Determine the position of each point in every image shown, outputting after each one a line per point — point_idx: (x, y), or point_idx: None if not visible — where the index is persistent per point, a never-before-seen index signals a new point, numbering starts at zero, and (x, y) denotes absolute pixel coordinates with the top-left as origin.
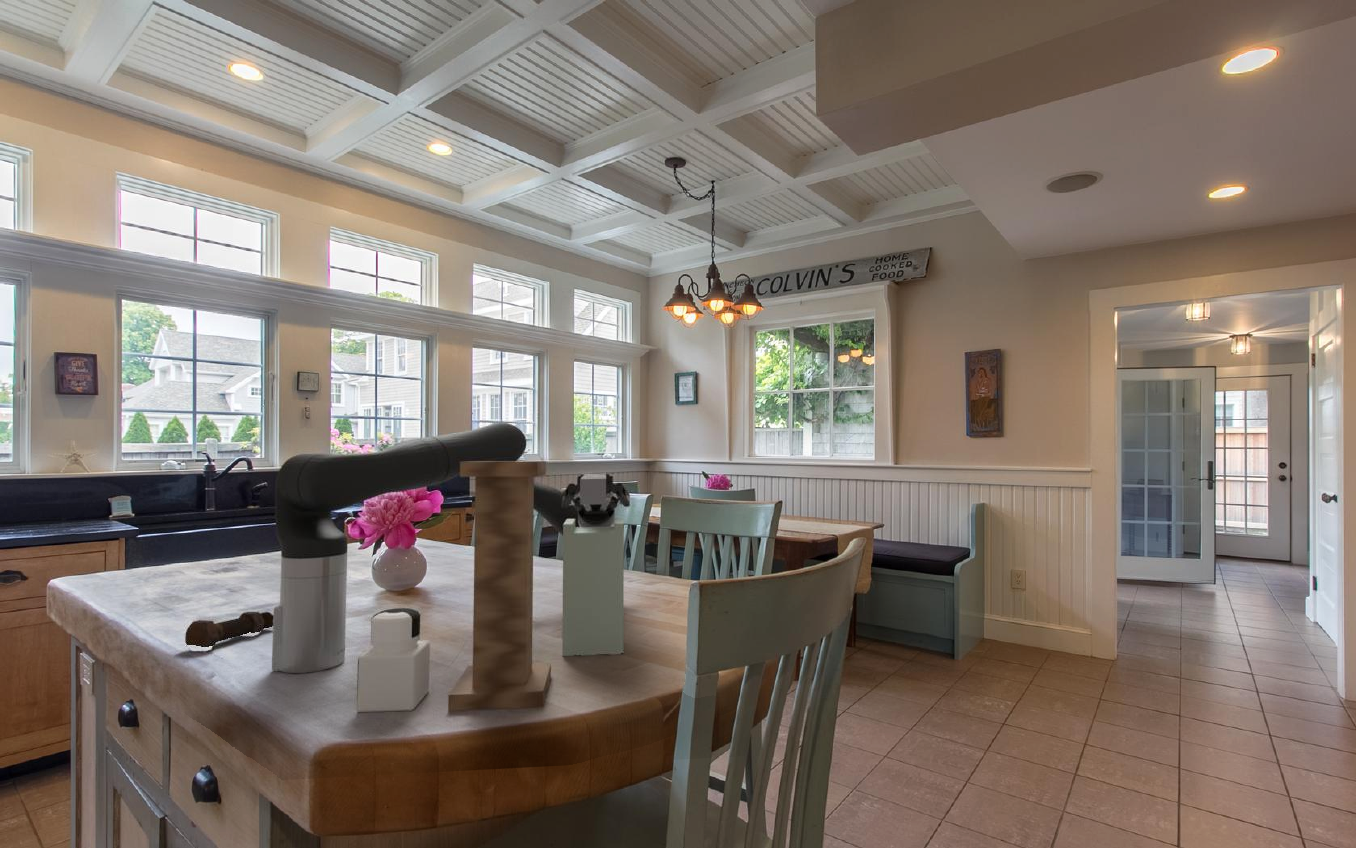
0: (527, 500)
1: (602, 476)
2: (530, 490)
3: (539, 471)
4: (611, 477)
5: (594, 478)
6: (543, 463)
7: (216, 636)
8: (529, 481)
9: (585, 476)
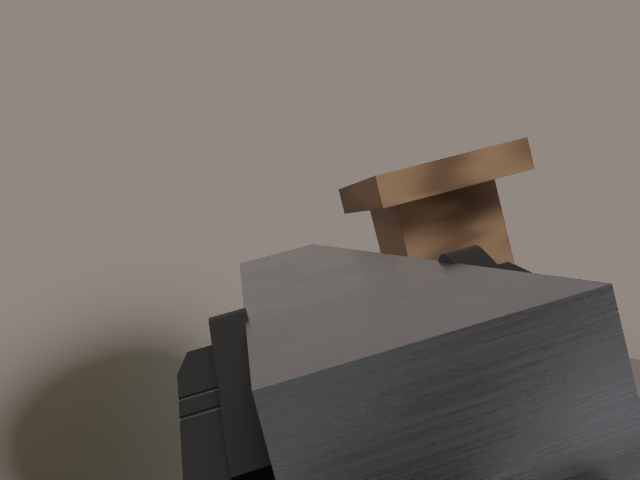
0: (380, 249)
1: (257, 273)
2: (386, 234)
3: (349, 204)
4: (197, 363)
5: (274, 255)
6: (362, 186)
7: None
8: (377, 217)
9: (337, 252)
